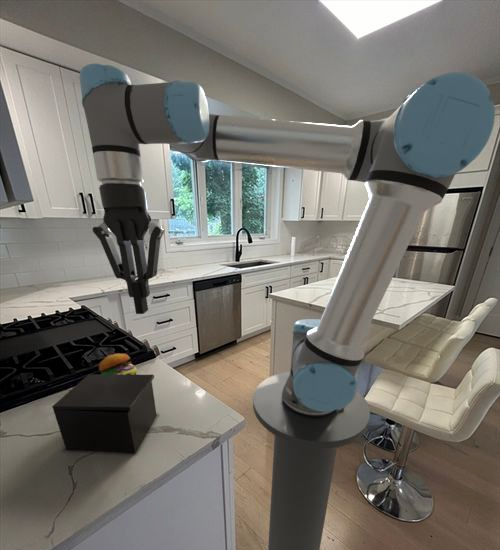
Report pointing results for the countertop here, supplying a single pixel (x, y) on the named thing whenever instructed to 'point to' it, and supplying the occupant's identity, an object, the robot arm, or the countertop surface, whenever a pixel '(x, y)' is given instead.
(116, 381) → the box lid
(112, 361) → the cheeseburger
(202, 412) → the countertop surface
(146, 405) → the black open box
